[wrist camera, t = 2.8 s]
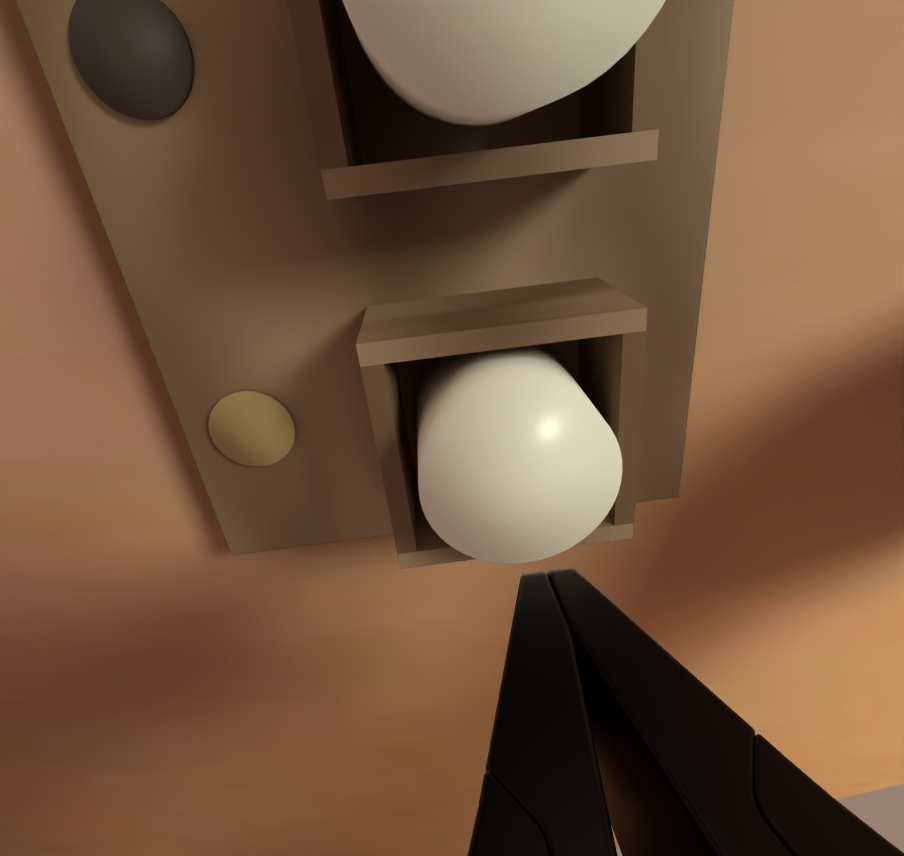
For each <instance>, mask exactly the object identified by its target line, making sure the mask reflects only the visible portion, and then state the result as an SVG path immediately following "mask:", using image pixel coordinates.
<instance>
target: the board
mask: <svg viewBox="0 0 904 856" xmlns="http://www.w3.org/2000/svg"><path fill="white" fill-rule="evenodd" d="M16 2H17V5H18V7H19V10H20V13H21V15H22V18H23V20H24V23H25V25H26V28H27V31H28V33H29V36H30V38H31V41H32V43H33V46H34V48H35V51H36V54H37V56H38V59H39V61H40V64H41V66H42V69H43V72H44V74H45V77H46V79H47V82H48V84H49V87H50V90H51V92H52V95H53V97H54V100H55V102H56V105H57V108H58V110H59V113H60V115H61V118H62V120H63V123H64V126H65V128H66V131H67V133H68V136H69V138H70V141H71V144H72V146H73V149H74V151H75V154H76V156H77V159H78V162H79V164H80V167H81V169H82V172H83V174H84V177H85V179H86V182H87V185H88V187H89V190H90V192H91V195H92V197H93V200H94V203H95V205H96V208H97V210H98V213H99V215H100V218H101V221H102V223H103V226H104V228H105V231H106V233H107V236H108V239H109V241H110V244H111V246H112V249H113V251H114V254H115V257H116V259H117V262H118V264H119V267H120V269H121V272H122V275H123V277H124V280H125V282H126V285H127V287H128V290H129V293H130V295H131V298H132V300H133V303H134V305H135V308H136V310H137V313H138V316H139V318H140V321H141V323H142V326H143V328H144V331H145V334H146V336H147V339H148V341H149V344H150V346H151V349H152V352H153V354H154V357H155V359H156V362H157V364H158V367H159V370H160V372H161V375H162V377H163V380H164V382H165V385H166V388H167V390H168V393H169V395H170V398H171V400H172V403H173V406H174V408H175V411H176V413H177V416H178V418H179V421H180V423H181V426H182V429H183V431H184V434H185V436H186V439H187V441H188V444H189V447H190V449H191V452H192V454H193V457H194V459H195V462H196V465H197V467H198V470H199V472H200V475H201V477H202V480H203V483H204V485H205V488H206V490H207V493H208V495H209V498H210V501H211V503H212V506H213V508H214V511H215V513H216V516H217V519H218V521H219V524H220V526H221V529H222V531H223V534H224V537H225V539H226V542H227V544H228V547H229V549H230V552H231V554H232V555H238V554H246V553H254V552H261V551H269V550H276V549H284V548H292V547H299V546H307V545H315V544H322V543H330V542H338V541H345V540H353V539H360V538H368V537H376V536H383V535H391V534H394V538H395V543H396V548H397V553H398V558H399V563H400V568H401V569H404V568H412V567H419V566H427V565H434V564H442V563H450V562H457V561H465V560H472V559H476V558H473V557H470V556H467V555H465V554H463V553H461V552H459V551H457V550H456V549H454V548H453V547H451V546H450V545H448V544H447V543H446V542H445V541H444V540H443V539H441V538H440V537H439V536H438V534H437V533H436V532H435V531H434V530H433V528H432V527H431V525H430V524H429V522H428V521H427V519H426V517H425V514H424V512H423V510H422V506H421V502H420V498H419V488H418V449H417V396H418V391H419V387H420V385H421V382H422V379H423V377H424V375H425V373H426V372H427V370H428V368H429V367H430V366H431V364H432V363H433V361H434V360H435V359H436V358H437V357H443V356H450V355H458V354H466V353H474V352H482V351H490V350H498V349H506V348H514V347H522V346H529V345H537V344H544V345H545V346H547V347H548V348H549V349H550V350H551V351H552V352H553V353H554V354H555V355H556V356H557V357H558V359H559V360H560V361H561V363H562V364H563V365H564V367H565V368H566V369H567V371H568V372H569V373H570V375H571V376H572V377H573V379H574V380H575V381H576V383H577V384H578V385H579V387H580V388H581V389H582V391H583V392H584V393H585V395H586V396H587V397H588V399H589V400H590V401H591V402H592V404H593V405H594V406H595V408H596V409H597V410H598V412H599V413H600V414H601V416H602V417H603V418H604V420H605V421H606V422H607V424H608V425H609V426H610V428H611V430H612V431H613V433H614V435H615V437H616V439H617V442H618V444H619V447H620V451H621V456H622V479H621V484H620V488H619V492H618V495H617V497H616V499H615V502H614V504H613V506H612V507H611V509H610V511H609V512H608V514H607V515H606V517H605V518H604V519H603V521H602V522H601V523H600V524H599V525H598V526H597V527H596V528H595V530H594V531H593V532H592V533H590V534H589V535H588V536H587V537H585V538H584V539H583V540H582V541H580V542H579V543H577V544H576V545H574V546H579V545H586V544H594V543H601V542H609V541H616V540H624V539H632V537H633V522H634V506H635V502H643V501H651V500H658V499H666V498H674V497H679V488H680V479H681V470H682V462H683V453H684V444H685V435H686V426H687V417H688V408H689V399H690V390H691V381H692V372H693V363H694V354H695V345H696V336H697V327H698V318H699V309H700V300H701V291H702V282H703V273H704V264H705V255H706V246H707V237H708V228H709V219H710V210H711V201H712V192H713V183H714V174H715V165H716V156H717V147H718V139H719V130H720V121H721V112H722V103H723V94H724V85H725V76H726V67H727V58H728V49H729V40H730V31H731V22H732V13H733V4H734V0H666V1H665V2H664V4H663V6H662V8H661V9H660V11H659V12H658V14H657V15H656V17H655V18H654V19H653V21H652V22H651V24H650V25H649V27H648V28H647V29H646V31H645V32H644V33H643V35H642V36H641V37H640V38H639V39H638V40H637V41H636V43H635V44H634V45H633V46H632V47H631V48H630V50H629V51H628V52H627V53H626V54H625V55H624V56H623V57H622V58H620V59H619V60H618V61H617V62H616V63H615V64H614V65H613V66H612V67H611V68H610V69H608V70H607V71H606V72H605V73H603V74H602V75H600V76H599V77H598V78H596V79H595V80H593V81H592V82H590V83H589V84H588V85H586V86H584V87H582V88H581V89H579V90H577V91H575V92H573V93H571V94H569V95H567V96H565V97H563V98H561V99H558V100H556V101H554V102H551V103H549V104H547V105H544V106H542V107H539V108H537V109H535V110H532V111H530V112H528V113H525V114H523V115H521V116H518V117H516V118H514V119H511V120H508V121H506V122H503V123H500V124H497V125H493V126H488V127H482V128H461V127H452V126H449V125H445V124H441V123H438V122H435V121H433V120H431V119H428V118H426V117H424V116H422V115H420V114H419V113H417V112H415V111H414V110H412V109H411V108H409V107H408V106H407V105H406V104H404V103H403V102H402V101H401V100H399V99H398V98H397V97H396V96H395V95H394V94H393V93H392V92H391V91H390V90H389V89H388V87H387V86H386V85H385V84H384V83H383V81H382V80H381V79H380V77H379V76H378V75H377V73H376V72H375V70H374V69H373V67H372V65H371V63H370V62H369V60H368V58H367V57H366V55H365V52H364V50H363V48H362V46H361V43H360V41H359V39H358V37H357V34H356V32H355V29H354V27H353V25H352V22H351V20H350V18H349V15H348V13H347V11H346V8H345V6H344V4H343V1H342V0H16Z"/></svg>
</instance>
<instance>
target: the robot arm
mask: <svg viewBox="0 0 904 856" xmlns="http://www.w3.org/2000/svg"><path fill="white" fill-rule="evenodd" d="M611 825H612V827H611ZM612 828H613V831H614V833H615V836H616V839H617V842H618V844H619V847H620V850H621V853H622V855H623V856H904V853H903V852H902V851H900V850H899V849H898V848H896V847H895V846H894V845H893V844H891V843H890V842H889V841H887V840H886V839H885V838H883V837H882V836H881V835H880V834H878V833H877V832H876V831H875V830H873V829H872V828H871V827H869V826H868V825H867V824H866V823H865V822H863V821H862V820H860V819H859V818H858V817H857V816H856V815H854V814H853V813H852V812H851V811H849V810H848V809H847V808H846V807H844V806H843V805H842V804H841V803H839V802H838V801H837V800H835V799H834V798H833V797H832V796H830V795H829V794H828V793H827V792H826V791H825V790H823V789H822V788H821V787H820V786H819V785H818V784H816V783H815V782H814V781H813V780H812V779H811V778H809V777H808V776H807V775H806V774H805V773H804V772H802V771H801V770H800V769H799V768H798V767H797V766H795V765H794V764H793V763H792V762H791V761H790V760H788V759H787V758H786V757H785V756H784V755H783V754H782V753H780V752H779V751H778V750H777V749H776V748H775V747H774V746H773V745H771V744H770V743H769V742H768V741H767V740H766V739H765V738H764V737H763V736H761V735H759V734H757V735H755V730H754V729H753V728H752V727H751V726H750V725H749V724H748V723H746V722H745V721H744V720H743V719H742V718H741V717H740V716H739V715H737V714H736V713H735V712H734V711H733V710H732V709H731V708H730V707H729V706H727V705H726V704H725V703H724V702H723V701H722V700H721V699H720V698H718V697H717V696H716V695H715V694H714V693H713V692H712V691H711V690H709V689H708V688H707V687H706V686H705V685H704V684H703V683H702V682H700V681H699V680H698V679H697V678H696V677H695V676H694V675H693V674H691V673H690V672H689V671H688V670H687V669H686V668H685V667H684V666H682V665H681V664H680V663H679V662H678V661H677V660H676V659H675V658H674V657H672V656H671V655H670V654H669V653H668V652H667V651H666V650H665V649H663V648H662V647H661V646H660V645H659V644H658V643H657V642H656V641H654V640H653V639H652V638H651V637H650V636H649V635H648V634H647V633H645V632H644V631H643V630H642V629H641V628H640V627H639V626H638V625H636V624H635V623H634V622H633V621H632V620H631V619H630V618H629V617H627V616H626V615H625V614H624V613H623V612H622V611H621V610H620V609H618V608H617V607H616V606H615V605H614V604H613V603H612V602H611V601H610V600H608V599H607V598H606V597H605V596H604V595H603V594H602V593H601V592H599V591H598V590H597V589H596V588H595V587H594V586H593V585H592V584H590V583H589V582H588V581H587V580H586V579H585V578H584V577H583V576H581V575H580V574H579V573H578V572H577V571H576V570H574V569H572V568H564V569H557V570H551V571H549V572H548V574H546V573H545V572H535V573H527V574H523V575H522V576H521V578H520V584H519V589H518V595H517V600H516V606H515V611H514V617H513V622H512V627H511V633H510V638H509V644H508V649H507V655H506V660H505V666H504V671H503V677H502V682H501V688H500V693H499V699H498V704H497V710H496V715H495V720H494V726H493V731H492V737H491V742H490V748H489V753H488V759H487V764H486V774H485V775H484V779H483V784H482V790H481V795H480V801H479V806H478V810H477V815H476V820H475V824H474V829H473V834H472V838H471V843H470V847H469V852H468V855H467V856H617V852H616V847H615V842H614V837H613V832H612Z"/></svg>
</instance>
